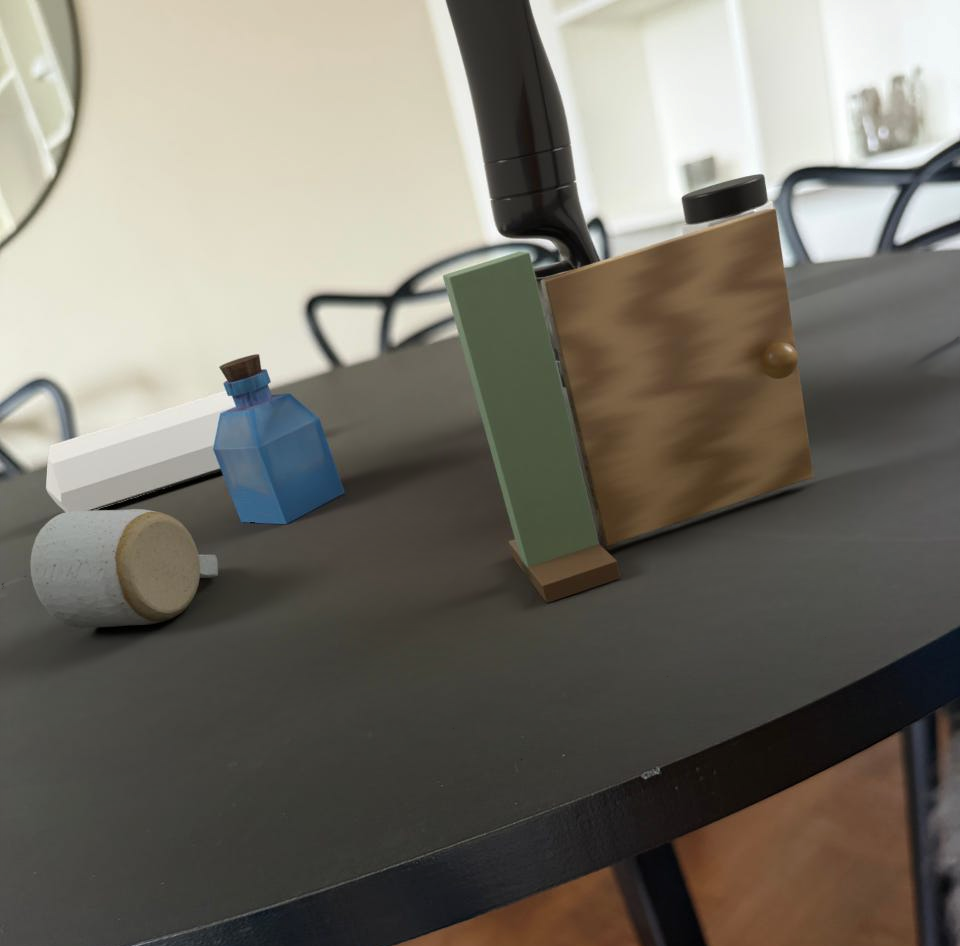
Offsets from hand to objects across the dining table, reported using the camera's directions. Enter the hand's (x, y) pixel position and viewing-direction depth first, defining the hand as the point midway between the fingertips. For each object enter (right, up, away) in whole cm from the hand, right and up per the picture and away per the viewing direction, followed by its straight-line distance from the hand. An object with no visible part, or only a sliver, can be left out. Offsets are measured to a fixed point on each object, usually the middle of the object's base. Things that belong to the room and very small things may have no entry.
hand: (707, 354), depth 55 cm
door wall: (-8, -12, 0) cm, 14 cm away
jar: (+15, +19, +51) cm, 56 cm away
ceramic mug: (-34, -14, +13) cm, 39 cm away
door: (0, -9, 0) cm, 9 cm away
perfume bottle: (-27, -5, +27) cm, 39 cm away
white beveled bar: (-43, 0, +49) cm, 66 cm away
